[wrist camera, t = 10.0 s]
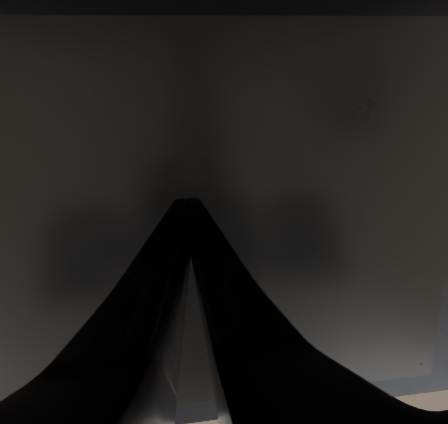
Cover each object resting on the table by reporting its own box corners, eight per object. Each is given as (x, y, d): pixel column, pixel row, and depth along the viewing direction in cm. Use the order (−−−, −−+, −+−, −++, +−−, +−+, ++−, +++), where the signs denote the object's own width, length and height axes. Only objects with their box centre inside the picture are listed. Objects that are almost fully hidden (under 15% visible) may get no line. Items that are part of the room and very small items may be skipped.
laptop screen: (-94, 463, 10) (-73, 441, 11) (454, 391, 12) (439, 377, 13) (-298, -39, 7) (-246, -19, 7) (533, -25, 9) (505, -10, 9)
